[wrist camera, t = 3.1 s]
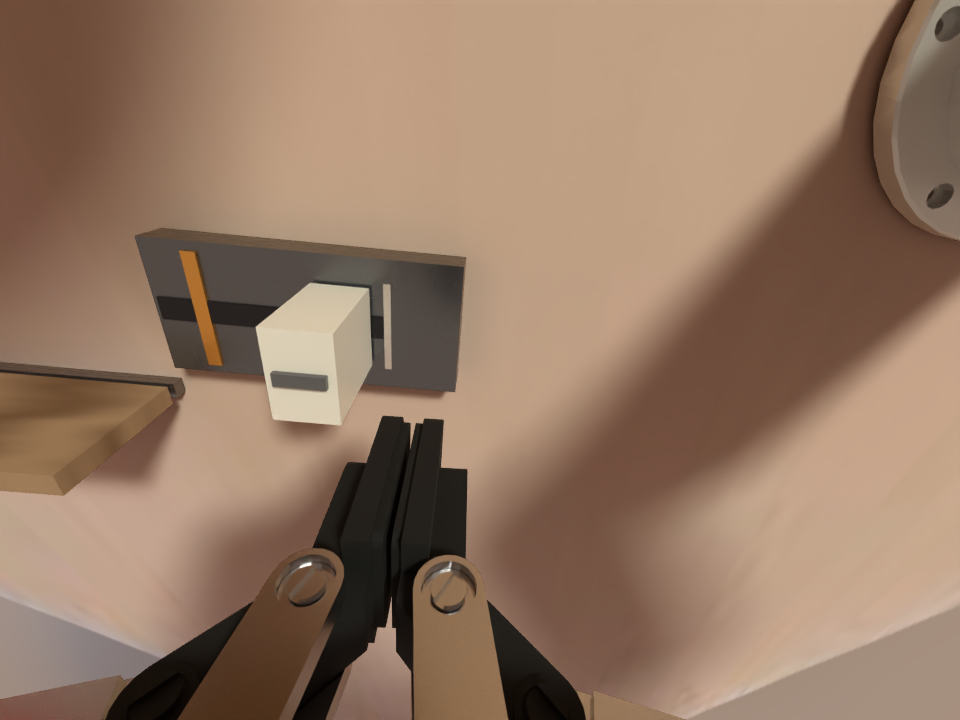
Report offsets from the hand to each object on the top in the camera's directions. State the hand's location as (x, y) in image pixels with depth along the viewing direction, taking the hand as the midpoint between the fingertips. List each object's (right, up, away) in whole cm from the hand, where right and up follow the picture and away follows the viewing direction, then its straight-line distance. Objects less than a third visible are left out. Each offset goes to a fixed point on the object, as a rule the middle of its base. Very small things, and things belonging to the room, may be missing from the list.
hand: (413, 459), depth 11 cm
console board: (-5, +5, +8) cm, 11 cm away
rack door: (-18, +1, +9) cm, 20 cm away
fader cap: (-4, +4, +6) cm, 8 cm away
